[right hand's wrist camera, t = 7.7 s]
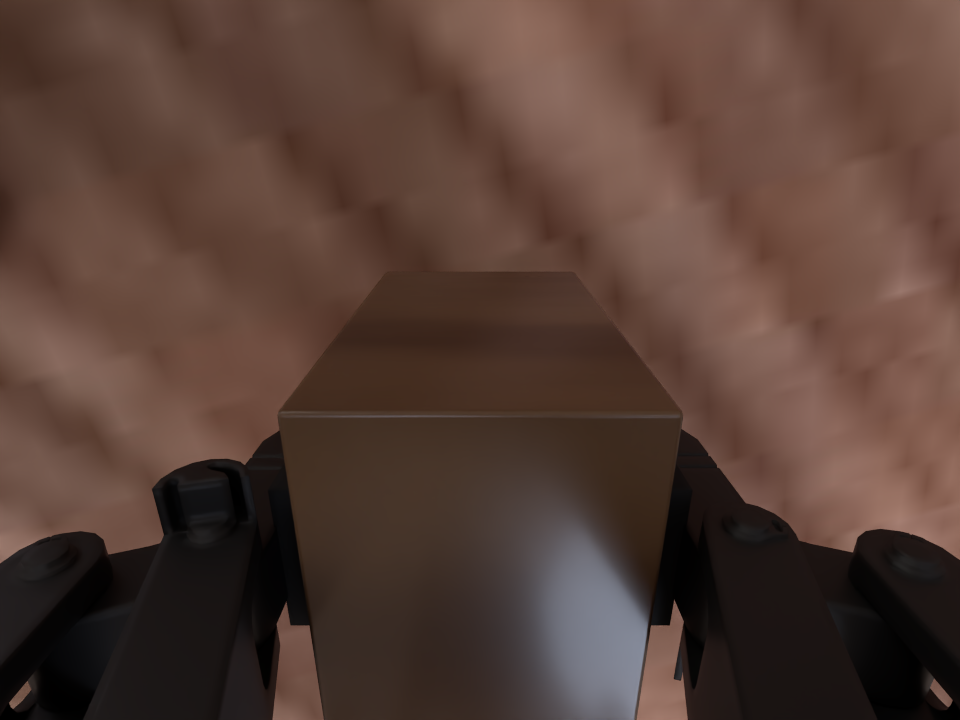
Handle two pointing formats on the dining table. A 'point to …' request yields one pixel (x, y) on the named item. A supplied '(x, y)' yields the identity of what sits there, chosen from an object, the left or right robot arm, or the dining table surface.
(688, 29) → the dining table surface
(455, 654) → the bar
